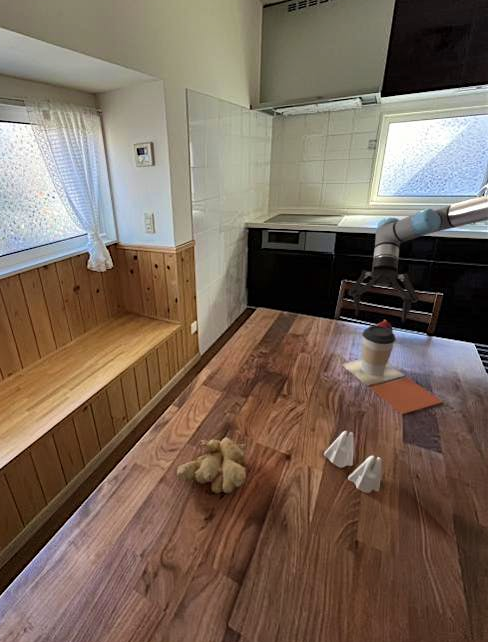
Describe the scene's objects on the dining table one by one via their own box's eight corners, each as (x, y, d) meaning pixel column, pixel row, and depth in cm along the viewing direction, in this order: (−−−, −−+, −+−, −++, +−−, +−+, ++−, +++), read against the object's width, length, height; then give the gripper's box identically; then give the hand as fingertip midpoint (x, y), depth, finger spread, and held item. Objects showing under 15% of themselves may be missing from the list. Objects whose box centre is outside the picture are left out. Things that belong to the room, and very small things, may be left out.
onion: (393, 339, 127) (398, 320, 123) (384, 344, 124) (388, 325, 121) (379, 333, 131) (382, 315, 128) (370, 337, 129) (373, 319, 125)
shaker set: (321, 459, 80) (327, 424, 76) (333, 452, 82) (339, 417, 78) (368, 499, 71) (377, 462, 66) (380, 489, 73) (390, 452, 68)
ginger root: (265, 455, 81) (262, 436, 76) (237, 520, 71) (232, 503, 66) (209, 432, 89) (203, 413, 85) (177, 487, 79) (169, 470, 75)
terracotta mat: (443, 402, 95) (443, 401, 95) (402, 414, 92) (403, 413, 92) (407, 378, 106) (407, 377, 106) (370, 388, 103) (370, 387, 102)
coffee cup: (360, 376, 107) (367, 335, 101) (354, 360, 115) (360, 321, 109) (391, 379, 105) (401, 337, 99) (383, 362, 113) (391, 323, 107)
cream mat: (404, 376, 107) (404, 375, 106) (367, 386, 104) (367, 385, 103) (375, 356, 117) (376, 355, 117) (341, 365, 114) (341, 364, 114)
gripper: (425, 268, 114) (421, 327, 108) (345, 262, 125) (338, 316, 118) (431, 257, 108) (428, 319, 102) (346, 252, 118) (339, 308, 112)
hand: (379, 317), depth 110 cm, fingers open, 13 cm apart
